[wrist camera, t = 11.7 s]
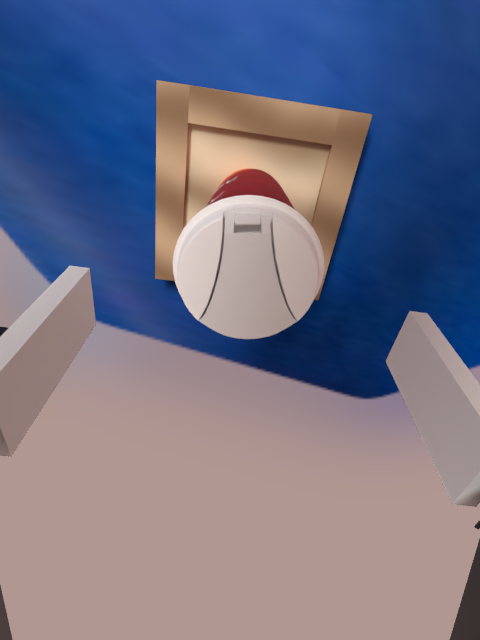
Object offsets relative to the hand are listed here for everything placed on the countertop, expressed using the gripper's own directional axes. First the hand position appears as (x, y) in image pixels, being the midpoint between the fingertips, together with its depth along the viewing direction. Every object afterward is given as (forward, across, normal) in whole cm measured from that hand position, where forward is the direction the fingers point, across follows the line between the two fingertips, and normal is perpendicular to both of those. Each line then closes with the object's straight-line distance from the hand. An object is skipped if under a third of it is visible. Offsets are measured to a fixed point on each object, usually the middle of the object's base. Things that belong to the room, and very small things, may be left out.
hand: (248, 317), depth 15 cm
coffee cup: (+19, 0, -1) cm, 19 cm away
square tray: (+20, 0, -1) cm, 20 cm away
